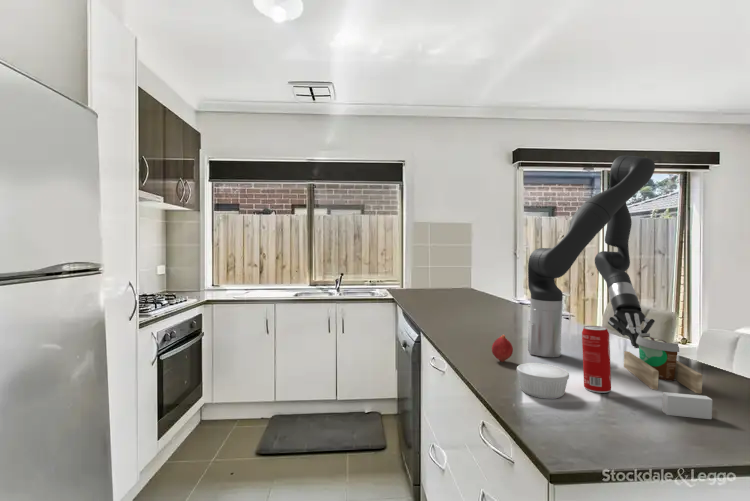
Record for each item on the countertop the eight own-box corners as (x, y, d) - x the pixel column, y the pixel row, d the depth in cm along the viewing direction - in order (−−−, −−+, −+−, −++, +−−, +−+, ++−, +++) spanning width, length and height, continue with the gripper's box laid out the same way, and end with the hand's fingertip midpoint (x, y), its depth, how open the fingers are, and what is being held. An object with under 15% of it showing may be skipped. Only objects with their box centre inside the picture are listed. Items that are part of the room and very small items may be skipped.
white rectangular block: (666, 414, 84) (667, 395, 84) (662, 410, 86) (662, 392, 85) (711, 419, 82) (712, 399, 82) (705, 415, 84) (706, 396, 84)
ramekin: (506, 386, 98) (506, 364, 98) (541, 381, 103) (541, 360, 103) (542, 404, 88) (542, 380, 88) (579, 397, 92) (579, 374, 92)
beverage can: (614, 395, 94) (617, 330, 94) (584, 392, 95) (586, 328, 95) (605, 386, 100) (607, 325, 99) (577, 383, 101) (579, 323, 101)
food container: (625, 367, 116) (626, 332, 116) (647, 367, 116) (648, 333, 115) (653, 382, 104) (655, 343, 103) (678, 383, 103) (679, 344, 103)
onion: (490, 363, 117) (491, 335, 117) (492, 357, 122) (493, 331, 122) (511, 365, 115) (512, 337, 114) (513, 360, 120) (513, 333, 120)
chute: (652, 389, 98) (653, 370, 98) (623, 366, 116) (624, 351, 116) (701, 393, 96) (702, 374, 96) (664, 370, 114) (665, 354, 114)
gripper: (604, 291, 130) (617, 338, 118) (650, 293, 127) (669, 341, 115) (598, 305, 135) (610, 351, 123) (642, 307, 132) (659, 355, 120)
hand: (638, 346), depth 119 cm, fingers closed
